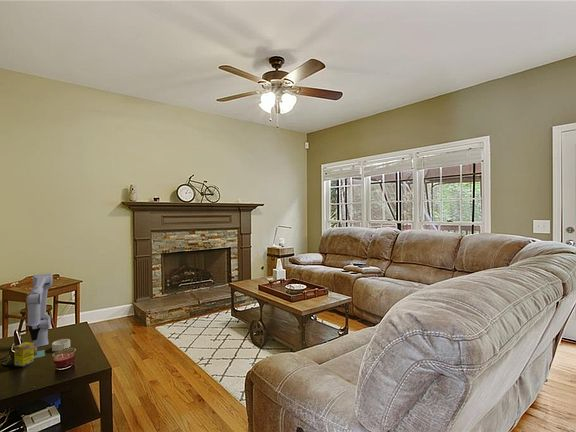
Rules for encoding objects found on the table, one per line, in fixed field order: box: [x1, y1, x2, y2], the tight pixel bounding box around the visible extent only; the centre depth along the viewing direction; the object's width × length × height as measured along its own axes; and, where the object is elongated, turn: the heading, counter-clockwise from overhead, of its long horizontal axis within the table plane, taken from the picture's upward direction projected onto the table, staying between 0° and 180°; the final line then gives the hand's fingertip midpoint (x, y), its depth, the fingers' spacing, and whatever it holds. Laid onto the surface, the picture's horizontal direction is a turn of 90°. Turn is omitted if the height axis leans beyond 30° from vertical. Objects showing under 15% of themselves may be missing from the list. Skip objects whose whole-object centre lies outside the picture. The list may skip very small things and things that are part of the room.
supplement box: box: [13, 341, 35, 368], centre depth 174 cm, size 6×6×11 cm
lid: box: [34, 347, 46, 359], centre depth 185 cm, size 10×10×5 cm
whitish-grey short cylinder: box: [51, 338, 71, 352], centre depth 194 cm, size 9×9×4 cm
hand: (33, 338), depth 184 cm, fingers open, 7 cm apart
